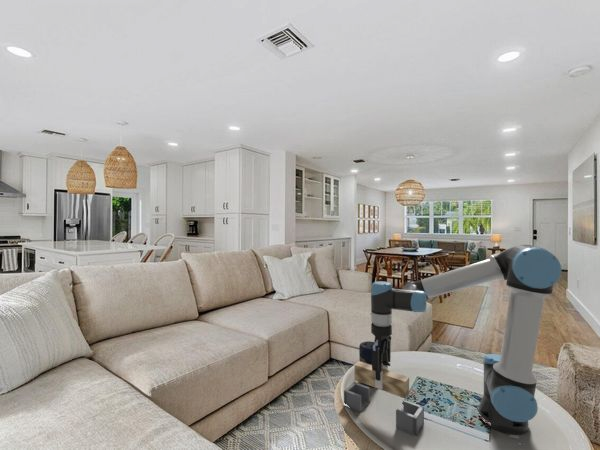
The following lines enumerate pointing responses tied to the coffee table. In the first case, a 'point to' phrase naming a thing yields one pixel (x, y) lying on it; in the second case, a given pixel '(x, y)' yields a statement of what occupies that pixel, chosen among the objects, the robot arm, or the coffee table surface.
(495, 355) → the robot arm
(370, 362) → the canister
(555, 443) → the coffee table surface
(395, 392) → the slat
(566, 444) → the coffee table surface
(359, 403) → the endcap
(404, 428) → the endcap
